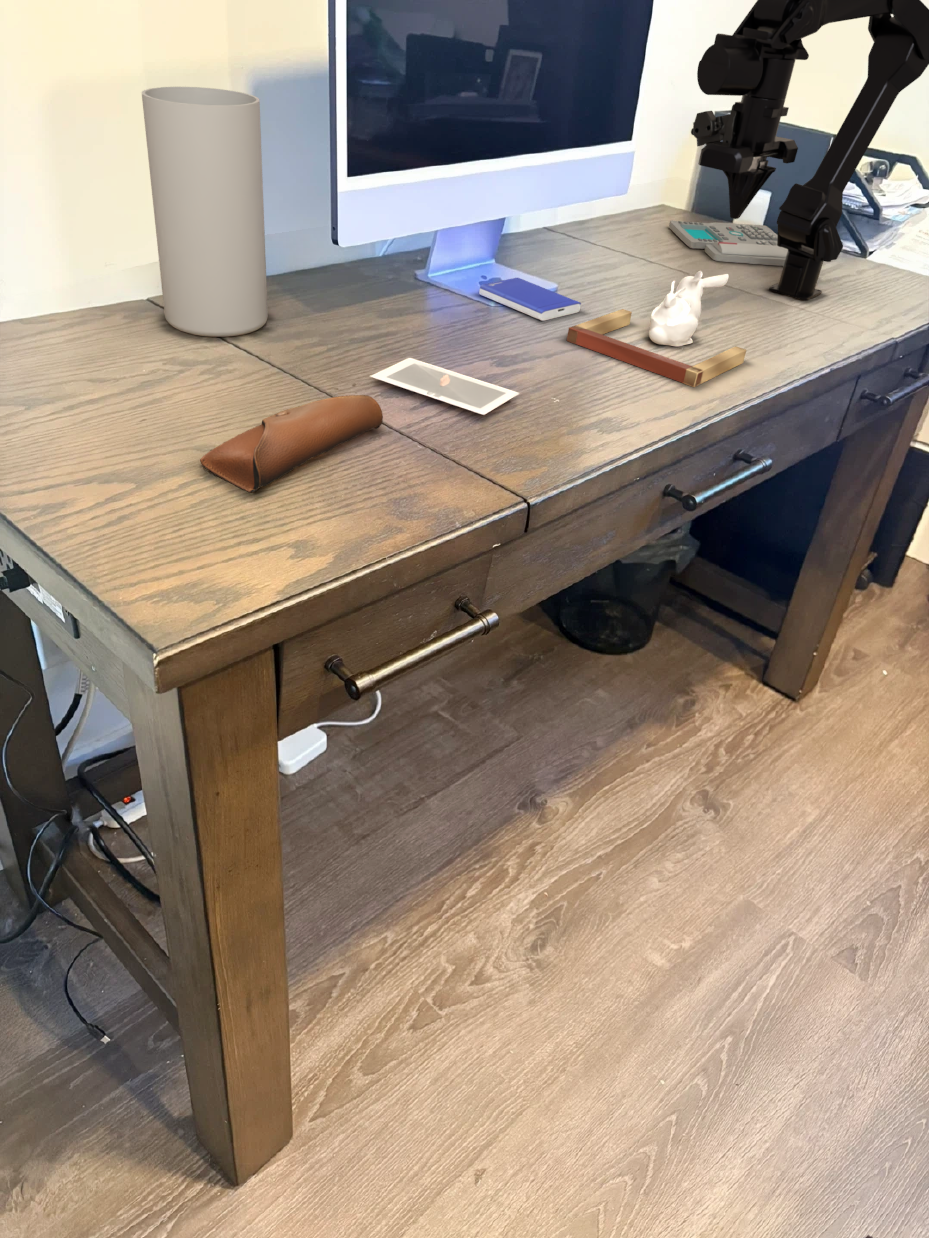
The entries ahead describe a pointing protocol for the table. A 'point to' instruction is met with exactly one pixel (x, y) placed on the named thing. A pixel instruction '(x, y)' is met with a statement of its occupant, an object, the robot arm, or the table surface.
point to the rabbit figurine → (681, 310)
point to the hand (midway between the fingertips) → (734, 218)
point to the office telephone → (732, 241)
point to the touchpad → (446, 385)
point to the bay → (693, 376)
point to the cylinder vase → (208, 208)
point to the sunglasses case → (291, 439)
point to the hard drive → (530, 298)
